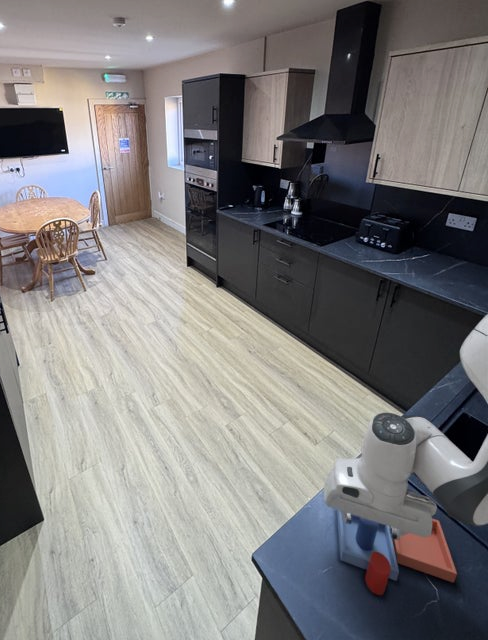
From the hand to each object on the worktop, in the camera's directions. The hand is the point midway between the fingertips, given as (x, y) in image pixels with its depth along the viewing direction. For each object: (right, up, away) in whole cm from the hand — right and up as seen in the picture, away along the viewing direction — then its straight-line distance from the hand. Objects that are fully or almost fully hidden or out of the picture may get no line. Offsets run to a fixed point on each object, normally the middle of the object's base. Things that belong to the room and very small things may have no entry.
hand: (369, 527), depth 72 cm
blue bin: (0, -5, +2) cm, 6 cm away
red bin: (+12, -5, +2) cm, 13 cm away
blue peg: (0, -5, +2) cm, 5 cm away
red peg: (-2, -8, -5) cm, 9 cm away
